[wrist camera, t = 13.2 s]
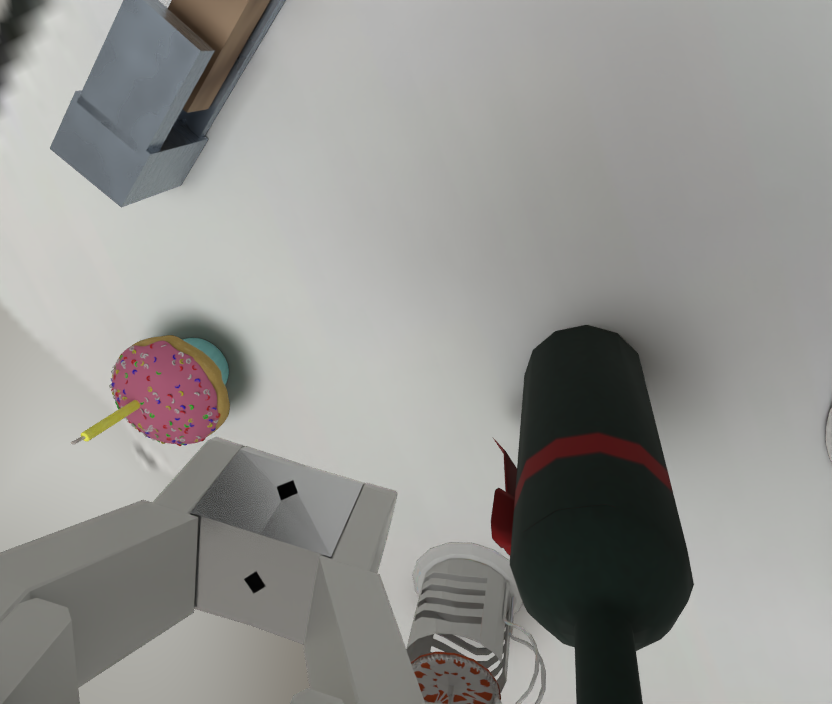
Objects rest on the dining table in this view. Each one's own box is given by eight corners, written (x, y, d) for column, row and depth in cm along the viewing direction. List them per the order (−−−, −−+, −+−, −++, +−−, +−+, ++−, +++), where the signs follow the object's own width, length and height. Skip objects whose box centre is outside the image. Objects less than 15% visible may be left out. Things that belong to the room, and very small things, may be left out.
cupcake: (154, 395, 50) (48, 488, 40) (148, 302, 46) (29, 377, 36) (252, 420, 49) (170, 521, 39) (254, 327, 45) (164, 411, 35)
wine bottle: (475, 369, 43) (350, 870, 17) (611, 304, 39) (724, 831, 13) (529, 452, 45) (493, 1011, 19) (663, 400, 41) (852, 1016, 15)
